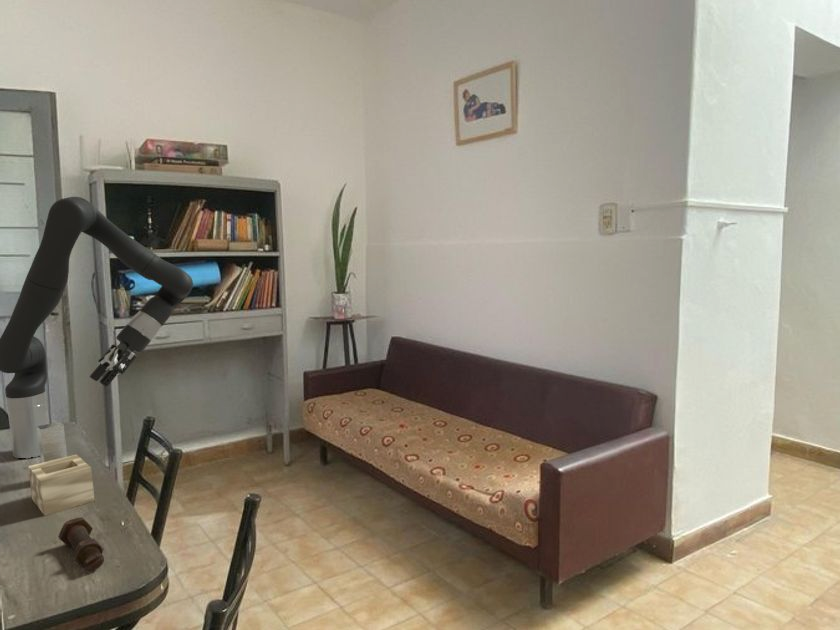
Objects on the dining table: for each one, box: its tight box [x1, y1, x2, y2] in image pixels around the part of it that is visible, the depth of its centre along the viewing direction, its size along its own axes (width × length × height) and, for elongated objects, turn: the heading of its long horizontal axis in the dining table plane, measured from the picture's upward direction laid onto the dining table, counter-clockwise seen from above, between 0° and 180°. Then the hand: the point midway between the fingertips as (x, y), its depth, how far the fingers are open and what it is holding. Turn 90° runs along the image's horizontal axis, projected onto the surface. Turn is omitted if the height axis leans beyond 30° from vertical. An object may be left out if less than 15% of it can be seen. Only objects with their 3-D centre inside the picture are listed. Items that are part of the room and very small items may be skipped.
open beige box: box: [28, 454, 95, 517], centre depth 137 cm, size 12×10×8 cm
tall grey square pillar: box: [37, 421, 68, 463], centre depth 149 cm, size 4×5×14 cm
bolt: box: [58, 516, 105, 571], centre depth 113 cm, size 6×5×15 cm
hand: (97, 381), depth 155 cm, fingers open, 8 cm apart
